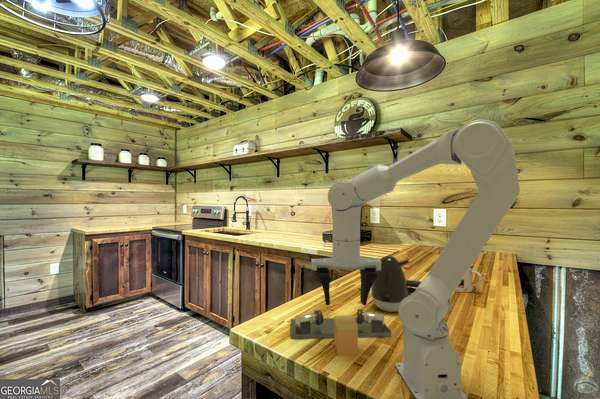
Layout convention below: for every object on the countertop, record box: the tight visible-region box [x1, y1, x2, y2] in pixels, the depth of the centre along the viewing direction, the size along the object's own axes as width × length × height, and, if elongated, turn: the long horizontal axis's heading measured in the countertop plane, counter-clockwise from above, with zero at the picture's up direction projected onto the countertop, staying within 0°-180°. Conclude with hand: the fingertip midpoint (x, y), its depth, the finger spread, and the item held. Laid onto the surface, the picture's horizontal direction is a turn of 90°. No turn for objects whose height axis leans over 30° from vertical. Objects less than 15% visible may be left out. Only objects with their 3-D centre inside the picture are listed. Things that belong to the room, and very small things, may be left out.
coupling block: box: [333, 314, 359, 357], centre depth 59 cm, size 4×5×6 cm
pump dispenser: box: [370, 255, 410, 313], centre depth 80 cm, size 10×10×15 cm
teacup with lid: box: [455, 264, 483, 293], centre depth 96 cm, size 12×9×12 cm
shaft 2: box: [356, 308, 385, 333], centre depth 65 cm, size 6×3×4 cm, turn 72°
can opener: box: [406, 279, 422, 294], centre depth 91 cm, size 18×7×6 cm, turn 44°
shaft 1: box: [294, 309, 324, 335], centre depth 65 cm, size 6×3×4 cm, turn 112°
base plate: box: [290, 317, 392, 340], centre depth 67 cm, size 8×23×1 cm, turn 92°
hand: (345, 303), depth 59 cm, fingers open, 7 cm apart
